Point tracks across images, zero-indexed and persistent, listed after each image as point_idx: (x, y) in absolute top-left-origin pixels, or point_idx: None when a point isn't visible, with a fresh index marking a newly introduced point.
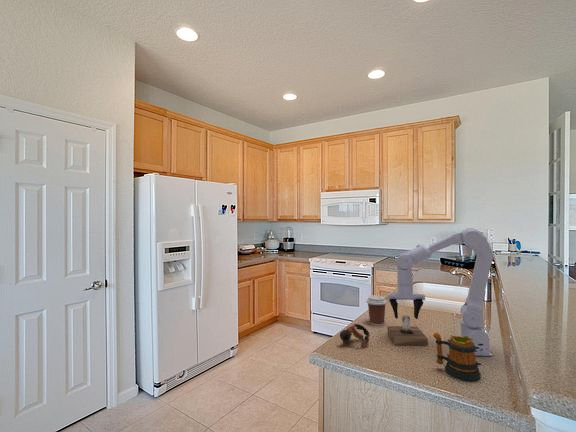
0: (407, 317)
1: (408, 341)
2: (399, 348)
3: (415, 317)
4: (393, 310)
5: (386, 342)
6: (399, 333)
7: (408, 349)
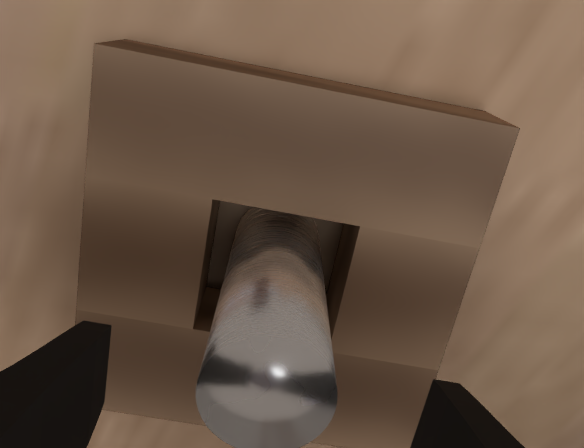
0: (269, 443)
1: None
2: (116, 413)
3: (417, 442)
4: (3, 383)
5: (33, 288)
6: (163, 319)
7: (187, 437)
